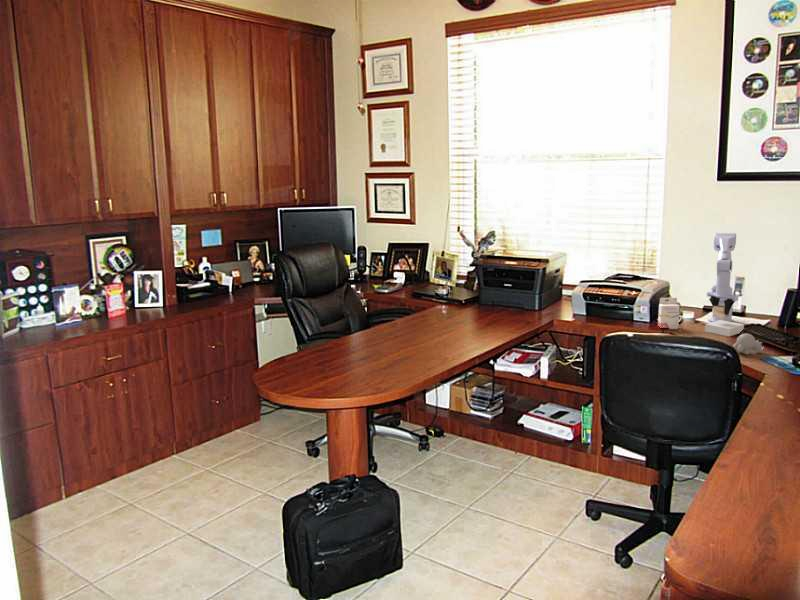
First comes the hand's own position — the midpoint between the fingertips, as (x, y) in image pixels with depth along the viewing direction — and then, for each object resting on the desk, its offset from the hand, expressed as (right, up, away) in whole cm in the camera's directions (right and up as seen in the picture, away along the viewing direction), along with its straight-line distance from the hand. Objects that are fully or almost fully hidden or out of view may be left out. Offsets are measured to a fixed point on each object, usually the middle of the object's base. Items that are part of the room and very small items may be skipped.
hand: (721, 313), depth 315 cm
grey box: (+1, -9, 0) cm, 9 cm away
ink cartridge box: (-21, -7, +10) cm, 25 cm away
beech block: (0, -1, 0) cm, 2 cm away
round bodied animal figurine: (-4, -17, -33) cm, 37 cm away
